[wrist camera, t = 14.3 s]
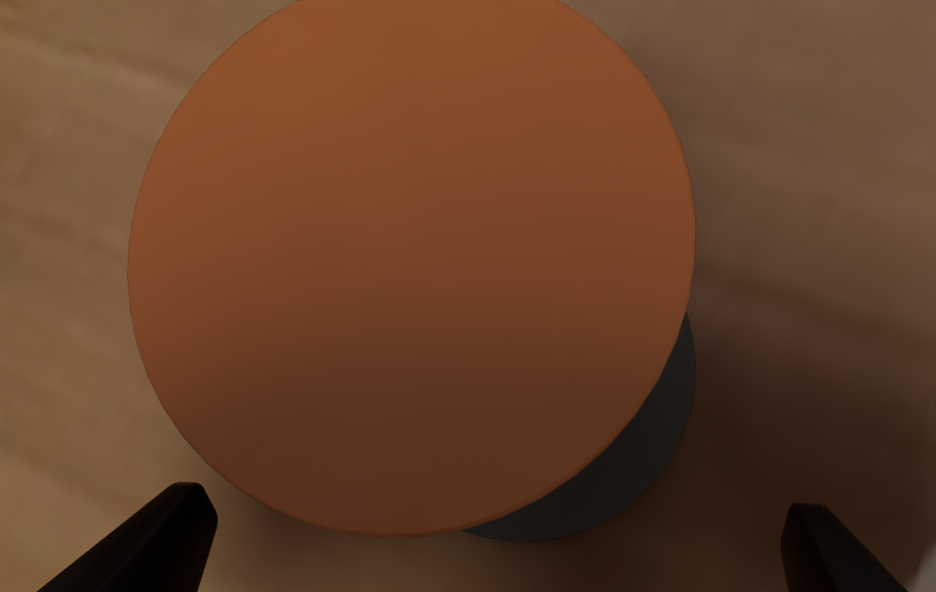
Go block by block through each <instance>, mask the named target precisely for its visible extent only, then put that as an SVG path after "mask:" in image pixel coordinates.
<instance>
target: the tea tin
mask: <svg viewBox="0 0 936 592" xmlns="http://www.w3.org/2000/svg"><path fill="white" fill-rule="evenodd" d="M695 259H696V215H695V207H694V199H693V191H692V184H691V178H690V175H689V171H688V167H687V164H686V160H685V157H684V153H683V149H682V146H681V143H680V140H679V138H678V136H677V133H676V131H675V129H674V127H673V124H672V122H671V120H670V117H669V115H668V113H667V111H666V108H665V107H664V105H663V104H662V102H661V100H660V99H659V97H658V96H657V94H656V92H655V91H654V89H653V88H652V86H651V84H650V83H649V81H648V79H647V78H646V76H645V75H644V74H643V73H642V72H641V71H640V69H639V68H638V67H637V66H636V65H635V63H634V62H633V61H632V60H631V59H630V57H629V56H628V55H627V54H626V53H625V51H624V50H623V49H622V48H621V47H620V46H619V45H618V44H617V43H615V42H614V41H613V40H612V39H611V38H610V37H609V36H608V35H607V34H605V33H604V32H603V31H602V30H601V29H600V28H599V27H598V26H597V25H595V24H594V23H593V22H591V21H590V20H588V19H587V18H585V17H584V16H582V15H581V14H579V13H578V12H576V11H575V10H573V9H572V8H570V7H569V6H567V5H566V4H564V3H562V2H560V1H558V0H298V1H296V2H294V3H292V4H290V5H289V6H287V7H285V8H283V9H282V10H280V11H278V12H276V13H274V14H273V15H271V16H269V17H268V18H267V19H265V20H264V21H262V22H261V23H260V24H258V25H257V26H255V27H254V28H253V29H251V30H250V31H248V32H247V33H246V34H244V35H243V36H242V37H241V38H240V39H238V40H237V41H236V42H235V43H234V44H233V45H232V46H231V47H230V48H228V49H227V50H226V51H225V52H224V53H223V54H222V55H221V56H219V57H218V58H217V59H216V60H215V62H214V63H213V64H212V65H211V66H210V67H209V68H208V69H207V71H206V72H205V73H204V74H203V75H202V76H201V77H200V78H199V79H198V81H197V82H196V83H195V84H194V85H193V87H192V88H191V90H190V91H189V92H188V94H187V95H186V97H185V98H184V99H183V101H182V102H181V103H180V105H179V106H178V108H177V109H176V110H175V112H174V114H173V115H172V117H171V119H170V121H169V123H168V124H167V126H166V128H165V130H164V132H163V133H162V135H161V137H160V139H159V140H158V142H157V145H156V147H155V150H154V152H153V154H152V157H151V159H150V161H149V164H148V166H147V169H146V171H145V173H144V177H143V180H142V184H141V187H140V190H139V194H138V197H137V201H136V204H135V208H134V214H133V220H132V226H131V232H130V237H129V251H128V270H127V277H128V292H129V306H130V313H131V318H132V323H133V328H134V333H135V338H136V343H137V346H138V349H139V352H140V355H141V358H142V361H143V364H144V367H145V370H146V373H147V376H148V378H149V380H150V382H151V384H152V386H153V388H154V390H155V392H156V394H157V396H158V398H159V400H160V402H161V404H162V406H163V408H164V410H165V411H166V412H167V414H168V415H169V417H170V418H171V420H172V421H173V423H174V424H175V426H176V427H177V429H178V430H179V432H180V433H181V435H182V436H183V438H184V439H185V440H186V441H187V442H188V443H189V444H190V445H191V446H192V448H193V449H194V450H195V451H196V452H197V453H198V454H199V455H200V456H201V457H202V459H203V460H204V461H205V462H206V463H207V464H208V465H209V466H210V467H212V468H213V469H214V470H215V471H216V472H218V473H219V474H220V475H221V476H222V477H224V478H225V479H226V480H227V481H228V482H230V483H231V484H232V485H233V486H234V487H235V488H237V489H238V490H240V491H242V492H243V493H245V494H246V495H248V496H250V497H251V498H253V499H255V500H256V501H258V502H259V503H261V504H263V505H264V506H266V507H268V508H269V509H272V510H274V511H276V512H279V513H281V514H283V515H286V516H288V517H290V518H292V519H295V520H297V521H299V522H302V523H304V524H308V525H312V526H315V527H319V528H323V529H327V530H330V531H334V532H338V533H342V534H350V535H358V536H367V537H375V538H408V537H425V536H431V535H437V534H443V533H449V532H455V531H461V530H464V529H467V528H471V527H474V526H477V525H480V524H483V523H486V522H490V521H493V520H496V519H499V518H502V517H504V516H506V515H508V514H510V513H512V512H515V511H517V510H519V509H521V508H523V507H525V506H527V505H529V504H531V503H533V502H535V501H538V500H540V499H541V498H543V497H544V496H546V495H547V494H549V493H550V492H552V491H553V490H555V489H556V488H558V487H559V486H561V485H562V484H564V483H565V482H567V481H568V480H570V479H571V478H573V477H574V476H576V475H577V474H578V473H579V472H580V471H581V470H583V469H584V468H585V467H586V466H587V465H588V464H589V463H591V462H592V461H593V460H594V459H595V458H596V457H597V456H599V455H600V454H601V453H602V452H603V451H604V450H605V449H606V448H608V446H609V445H610V444H611V443H612V442H613V441H614V440H615V438H616V437H617V436H618V435H619V434H620V433H621V431H622V430H623V429H624V428H625V427H626V426H627V424H628V423H629V422H630V421H631V420H632V419H633V417H634V416H635V415H636V414H637V412H638V411H639V409H640V408H641V406H642V404H643V403H644V401H645V400H646V398H647V397H648V395H649V394H650V392H651V390H652V389H653V387H654V386H655V384H656V383H657V381H658V380H659V378H660V376H661V373H662V371H663V369H664V367H665V365H666V363H667V361H668V358H669V356H670V354H671V352H672V350H673V348H674V346H675V343H676V341H677V338H678V335H679V332H680V329H681V325H682V322H683V319H684V315H685V312H686V309H687V306H688V302H689V298H690V292H691V285H692V279H693V273H694V266H695Z"/></svg>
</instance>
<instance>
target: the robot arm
mask: <svg viewBox="0 0 936 592" xmlns="http://www.w3.org/2000/svg"><path fill="white" fill-rule="evenodd" d="M217 524H218V517H217V513H216V510H215V508H214V507H213V505H212V503H211V501H210V499H209V497H208V495H207V493H206V491H205V490H204V488H203V486H202V485H201V484H199V483H195V482H177V483H174V484H172V485H170V486H169V487H167V488H166V489H165V490H164V491H162V492H161V493H160V494H159V495H157V496H156V497H155V498H154V499H152V500H151V501H150V502H149V503H147V504H146V505H145V506H144V507H142V508H141V509H140V510H139V511H137V512H136V513H135V514H134V515H132V516H131V517H130V518H128V519H127V520H126V521H125V522H123V523H122V524H121V525H120V526H118V527H117V528H116V529H115V530H113V531H112V532H111V533H110V534H108V535H107V536H106V537H105V538H103V539H102V540H101V541H100V542H98V543H97V544H96V545H95V546H93V547H92V548H91V549H90V550H88V551H87V552H86V553H85V554H83V555H82V556H81V557H80V558H78V559H77V560H76V561H74V562H73V563H72V564H71V565H69V566H68V567H67V568H66V569H64V570H63V571H62V572H61V573H59V574H58V575H57V576H56V577H54V578H53V579H52V580H51V581H49V582H48V583H47V584H46V585H44V586H43V587H42V588H41V589H39V590H38V591H37V592H197V591H198V588H199V585H200V582H201V578H202V575H203V572H204V569H205V565H206V562H207V559H208V556H209V552H210V549H211V546H212V543H213V539H214V536H215V533H216V529H217ZM781 555H782V560H783V565H784V570H785V575H786V580H787V585H788V590H789V592H908V591H907V590H906V589H905V588H904V587H903V586H902V585H901V584H900V583H899V581H898V580H897V579H896V578H895V577H894V576H893V575H892V574H891V573H890V572H889V571H888V570H887V569H886V568H885V567H884V566H883V565H882V564H881V563H880V562H879V561H878V560H877V559H876V557H875V556H874V555H873V554H872V553H871V552H870V551H869V550H868V549H867V548H866V547H865V546H864V545H863V544H862V543H861V542H860V541H859V540H858V539H857V538H856V537H855V536H854V535H853V533H852V532H851V531H850V530H849V529H848V528H847V527H846V526H845V525H844V524H843V523H842V522H841V521H840V520H839V519H838V518H837V517H836V516H835V515H834V514H833V513H832V512H831V511H830V510H829V509H828V508H827V507H826V506H824V505H822V504H818V503H793V504H792V505H791V506H790V508H789V510H788V514H787V517H786V521H785V525H784V528H783V532H782V536H781Z"/></svg>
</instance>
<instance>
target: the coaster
mask: <svg viewBox="0 0 936 592" xmlns="http://www.w3.org/2000/svg"><path fill="white" fill-rule="evenodd" d="M695 368H696V362H695V351H694V341H693V336H692V332H691V328H690V323H689V319H688V316H687V313H686V312H685V315H684V319H683V322H682V325H681V329H680V332H679V335H678V338H677V341H676V343H675V346H674V348H673V350H672V352H671V354H670V356H669V358H668V361H667V363H666V365H665V367H664V369H663V371H662V373H661V376H660V378H659V380H658V381H657V383H656V384H655V386H654V387H653V389H652V390H651V392H650V394H649V395H648V397H647V398H646V400H645V401H644V403H643V404H642V406H641V408H640V409H639V411H638V412H637V414H636V415H635V416H634V417H633V419H632V420H631V421H630V422H629V423H628V424H627V426H626V427H625V428H624V429H623V430H622V431H621V433H620V434H619V435H618V436H617V437H616V438H615V440H614V441H613V442H612V443H611V444H610V445H609V446H608V448H606V449H605V450H604V451H603V452H602V453H601V454H600V455H599V456H597V457H596V458H595V459H594V460H593V461H592V462H591V463H589V464H588V465H587V466H586V467H585V468H584V469H583V470H581V471H580V472H579V473H578V474H577V475H576V476H574V477H573V478H571V479H570V480H568V481H567V482H565V483H564V484H562V485H561V486H559V487H558V488H556V489H555V490H553V491H552V492H550V493H549V494H547V495H546V496H544V497H543V498H541V499H540V500H538V501H535V502H533V503H531V504H529V505H527V506H525V507H523V508H521V509H519V510H517V511H515V512H512V513H510V514H508V515H506V516H504V517H502V518H499V519H496V520H493V521H490V522H486V523H483V524H480V525H477V526H474V527H471V528H467V529H464V530H462V531H464V532H468V533H471V534H475V535H478V536H482V537H485V538H490V539H497V540H504V541H541V540H549V539H556V538H561V537H564V536H568V535H571V534H575V533H578V532H582V531H584V530H586V529H588V528H591V527H593V526H595V525H598V524H600V523H602V522H604V521H606V520H607V519H609V518H610V517H612V516H614V515H615V514H617V513H619V512H620V511H622V510H623V509H625V508H626V507H627V506H628V505H629V504H631V503H632V502H633V501H634V500H635V499H637V498H638V497H639V496H640V495H642V494H643V493H644V491H645V490H646V489H647V488H648V487H649V486H650V485H651V484H652V483H653V481H654V480H655V479H656V478H657V477H658V476H659V475H660V473H661V472H662V470H663V469H664V467H665V466H666V464H667V463H668V461H669V460H670V458H671V457H672V455H673V453H674V451H675V449H676V447H677V445H678V443H679V441H680V439H681V437H682V435H683V432H684V429H685V426H686V423H687V420H688V417H689V414H690V411H691V405H692V400H693V394H694V388H695Z"/></svg>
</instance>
